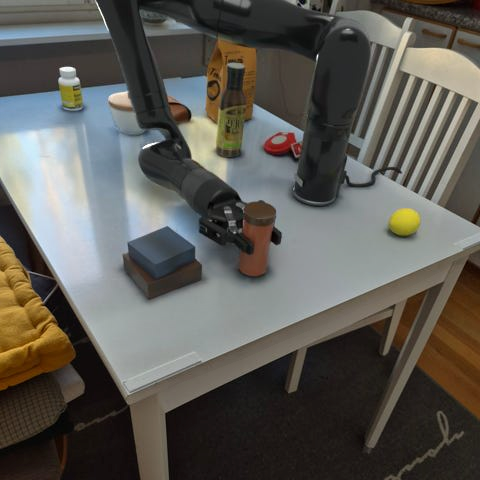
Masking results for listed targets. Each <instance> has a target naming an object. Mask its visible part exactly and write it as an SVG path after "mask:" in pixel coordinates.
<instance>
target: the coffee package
mask: <svg viewBox="0 0 480 480" xmlns="http://www.w3.org/2000/svg"><path fill="white" fill-rule="evenodd" d="M210 57H211V58H210V59H209V60H210V61H209V63H208V66H207V71H206V72H207V73H206V88H205V91H206V93H205V94H206V95H205V112H206V116H207V117H208V118H210V119H211V120H212V121H213V122H214V123H216V124H218V112H219V105H220V95H221V93H222V92H223V91H224V89H225V88H226V81H227V71H226V70H227V64H229V63H239V64H242V65H244V66H245V73H244V77H243V89H242V90H243V92H244V95H245V97H246V110H245V118H244V122H246V121H249V120H251V119H253V113H254V103H255V95H256V85H257V71H258V54H257V49H255V48H247V47H242V46H238V45H234V44H232V43H229V42H226V41H222V40H219V39H217V42H216V43H215V47H214V51H213V53H212V55H211V56H210Z"/></svg>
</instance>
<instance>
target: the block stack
mask: <svg viewBox="0 0 480 480" xmlns="http://www.w3.org/2000/svg"><path fill="white" fill-rule="evenodd" d="M127 251H128V252H125V253H122V261H123V262H122V263H123V269H124V271H125V272H126V274H127V275H128V276H129V277H130V278H131V279H132V281H133V282H134V283H135V284H136V286H137V287H138V288H139V289H140V290H141V292H142V293H143V294H144V295H145V296H146V298H147V299H148V300H151V299H153V298H156V297H159V296H161V295H164V294H167V293H170V292H172V291H175V290H178V289H181V288H183V287H186V286H188V285H191V284H193V283H196V282H199V281H201V280H202V279H203V277H202V276H203V264H202V263H201V262H200V261H199V260H198V259H197V258H196V246H195V245H194V244H193V243H191V242H190V241H189V240H187V239H186V238H185V237H183V236H182V235H180V234H179V233H178V232H177V231H175V230H173V229H172V228H171V227H169V226H168V225H166V226H164V227H161V228H159V229H156V230H154V231H152V232H150V233H147V234H144V235H142V236H140V237H137V238H135V239H132V240H130V241H127Z"/></svg>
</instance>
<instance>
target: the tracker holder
mask: <svg viewBox="0 0 480 480" xmlns="http://www.w3.org/2000/svg"><path fill="white" fill-rule="evenodd" d="M301 145H302V140H299V141H297V138H296V134H295V132H289V131H279V132H277V133H275V134H274V135H272V136H270V137H269V138H267V139H266V140H265V141H264V143H263V149H264V151H265V152H266V153H267V154H270V155H282V154H285V153H288V152H290V151H291V153H292V155H293V157H294V158H295V159H296V160H299V156H300V151H301Z"/></svg>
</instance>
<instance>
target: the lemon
mask: <svg viewBox="0 0 480 480" xmlns="http://www.w3.org/2000/svg"><path fill="white" fill-rule="evenodd" d="M420 225H421V217H420V215H419V213H418V212H417V211H416V210H414V209H413V208H408V207H404V208H400V209H397V210H396V211H395V212H393V213H392V214H391V216H390V218H389V221H388V227H389V229H390V230H391V232H393V233H394V234H395V235H398V236H411V235H412V234H414V233H415V232H416V231H417V230H419V228H420Z"/></svg>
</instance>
